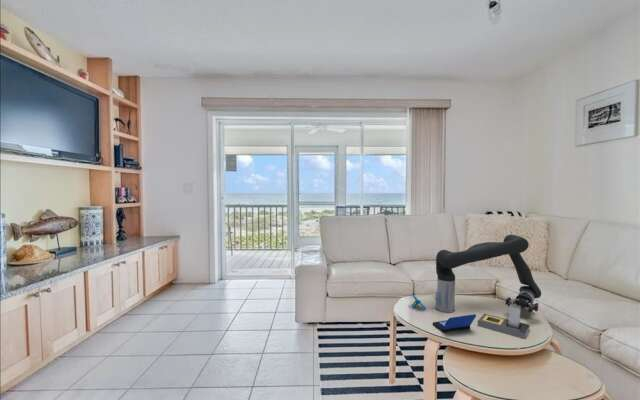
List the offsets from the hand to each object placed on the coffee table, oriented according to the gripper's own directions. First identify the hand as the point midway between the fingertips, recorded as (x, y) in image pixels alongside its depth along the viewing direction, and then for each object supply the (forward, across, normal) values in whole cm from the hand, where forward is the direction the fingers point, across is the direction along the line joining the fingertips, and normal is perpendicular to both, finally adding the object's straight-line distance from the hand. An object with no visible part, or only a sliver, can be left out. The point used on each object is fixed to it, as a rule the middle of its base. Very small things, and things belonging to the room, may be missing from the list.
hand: (519, 308), depth 159 cm
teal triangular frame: (+16, -46, +8) cm, 50 cm away
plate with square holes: (+12, -4, +8) cm, 15 cm away
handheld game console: (+29, -22, +8) cm, 38 cm away
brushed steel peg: (+12, 0, +8) cm, 14 cm away
